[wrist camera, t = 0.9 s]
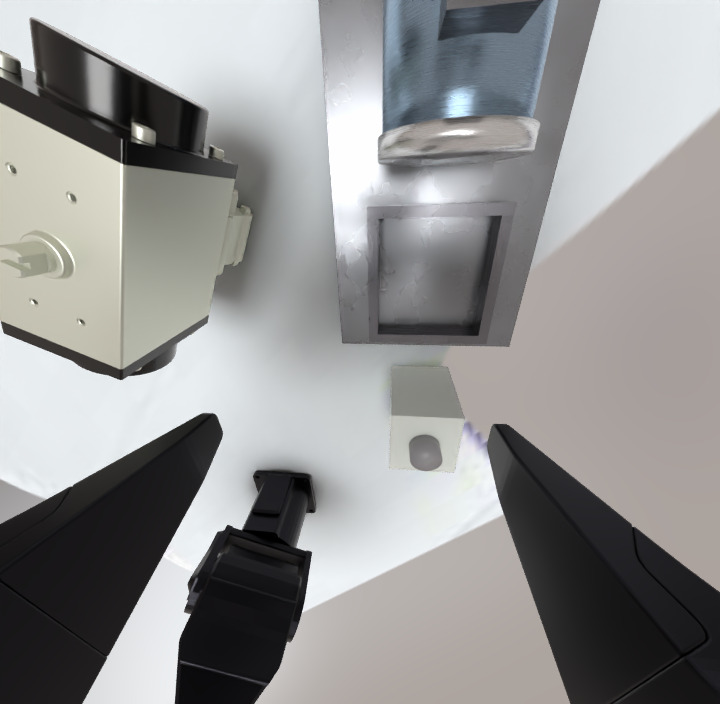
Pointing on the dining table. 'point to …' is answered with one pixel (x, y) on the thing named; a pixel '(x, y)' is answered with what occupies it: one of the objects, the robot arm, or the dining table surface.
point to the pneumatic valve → (108, 209)
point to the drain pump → (424, 419)
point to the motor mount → (444, 157)
